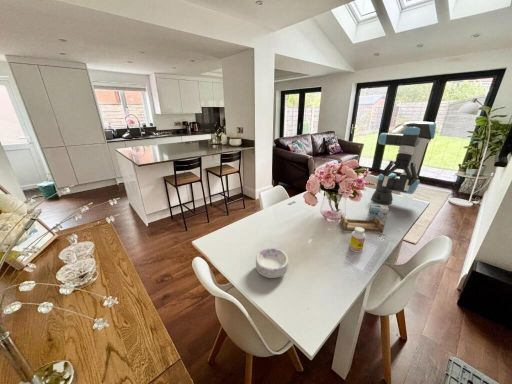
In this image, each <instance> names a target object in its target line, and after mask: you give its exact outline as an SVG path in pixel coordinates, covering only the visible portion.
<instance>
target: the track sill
mask: <svg viewBox="0 0 512 384" xmlns="http://www.w3.org/2000/svg"><path fill="white" fill-rule="evenodd" d="M339 220H340V221H339V223H340V224H341V226H342V229H343V230H344V232H353V231H355V227H361V228H363V229H364V230H365V231H364V233H372V234H373V233H374V234H383V231H384V228H385V224H384V223H382V221H381V220H380V219H379V218H378V217H377V216H375V217H374V220H368V219H352V218H346V216H345V215H344V214H342V213H341V214H340V219H339Z"/></svg>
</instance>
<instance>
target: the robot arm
mask: <svg viewBox="0 0 512 384" xmlns="http://www.w3.org/2000/svg"><path fill="white" fill-rule="evenodd" d="M436 128H437V124H436V122H433V121H406V122H402V123H399V124H398V125H396V126H395V127H394V128H393V129H392V130H391V131H388V132H381V133H380V134H379V136H378V141H377V143H378V145H383V146H395V147H399V148H398V151H397V154H396V157H395V161H394V160H390V161H389V163H388V164H387V166H385V168H384V169H383V171H382V172H380V174H378V178H377V182H376V186H375V191H374V192H373V193H372V195H371V200H372V201H374V202H376V203H377V204H382V205H387V204H388V205H389V204H392V203H393V199H394V197H393V191H394V192H398V193H403V194H408V195H413V194H415V192H416V190H417V189H418V186H419V184H420V181H421V180H420V179H419V176H418V172H419V170H420V165H421V163H422V160H423V156H424V153H425V150H426V148H427V144H428V143H431V140H434V138H435V135H436ZM396 170H403V171H402V173H400V175H399V176H398V175H397V173H394V172H395V171H396Z"/></svg>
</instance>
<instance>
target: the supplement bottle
mask: <svg viewBox="0 0 512 384" xmlns="http://www.w3.org/2000/svg"><path fill="white" fill-rule="evenodd" d="M364 231H365V230H364V229H363V228H361V227H355V231H351V232H352V233H351V236H350V239H349V241H350V242H349V250H350V251H352V252H354V253H362V252H363V249H364V244H365V240H366V234H365V232H364Z"/></svg>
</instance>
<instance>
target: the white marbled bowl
mask: <svg viewBox="0 0 512 384" xmlns="http://www.w3.org/2000/svg"><path fill="white" fill-rule="evenodd" d="M288 268H289V257H288V254H287V253H286V252H284V251H283V250H281V249H279V248H276V247H275V248H274V247H273V248H272V247H268V248H264V249H262V250H260V251H259V252H258V253H257V254H256V256H255V269H256V271H257V272H258V273H259V274H260V275H261V276H263V277H266V278H267V279H276V278H280V277H283V276H284V275H285V274H286V273H287V272H288V270H289V269H288Z"/></svg>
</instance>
